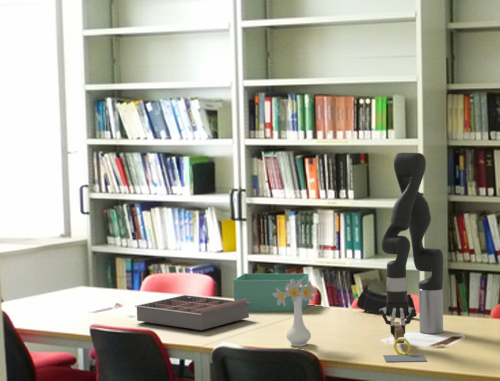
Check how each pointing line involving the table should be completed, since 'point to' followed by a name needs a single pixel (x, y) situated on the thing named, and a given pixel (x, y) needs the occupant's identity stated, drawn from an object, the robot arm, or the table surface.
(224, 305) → the organizer tray
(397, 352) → the watch
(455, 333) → the table surface
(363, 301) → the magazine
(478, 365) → the table surface
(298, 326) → the flower vase
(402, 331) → the walnut slat
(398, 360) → the felt mat
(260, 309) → the box
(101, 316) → the table surface
